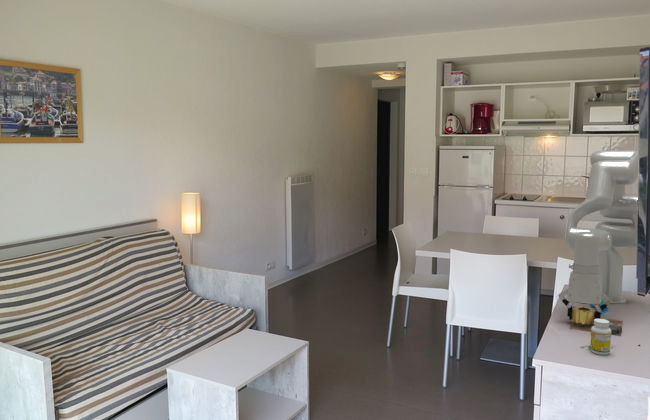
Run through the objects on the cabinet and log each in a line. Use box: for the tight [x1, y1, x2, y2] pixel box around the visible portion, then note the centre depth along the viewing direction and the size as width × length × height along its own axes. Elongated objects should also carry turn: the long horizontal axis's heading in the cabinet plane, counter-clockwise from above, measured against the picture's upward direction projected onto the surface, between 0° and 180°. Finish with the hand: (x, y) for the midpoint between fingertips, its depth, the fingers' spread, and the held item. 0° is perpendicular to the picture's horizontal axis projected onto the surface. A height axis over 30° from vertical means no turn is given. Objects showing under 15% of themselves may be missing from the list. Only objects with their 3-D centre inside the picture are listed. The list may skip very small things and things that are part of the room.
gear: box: [588, 300, 609, 315], centre depth 195 cm, size 11×6×10 cm
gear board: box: [568, 317, 624, 337], centre depth 179 cm, size 17×15×5 cm
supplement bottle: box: [589, 319, 612, 356], centre depth 158 cm, size 5×5×10 cm
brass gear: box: [571, 305, 596, 324], centre depth 179 cm, size 7×7×4 cm
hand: (583, 320), depth 179 cm, fingers closed on brass gear, 7 cm apart
